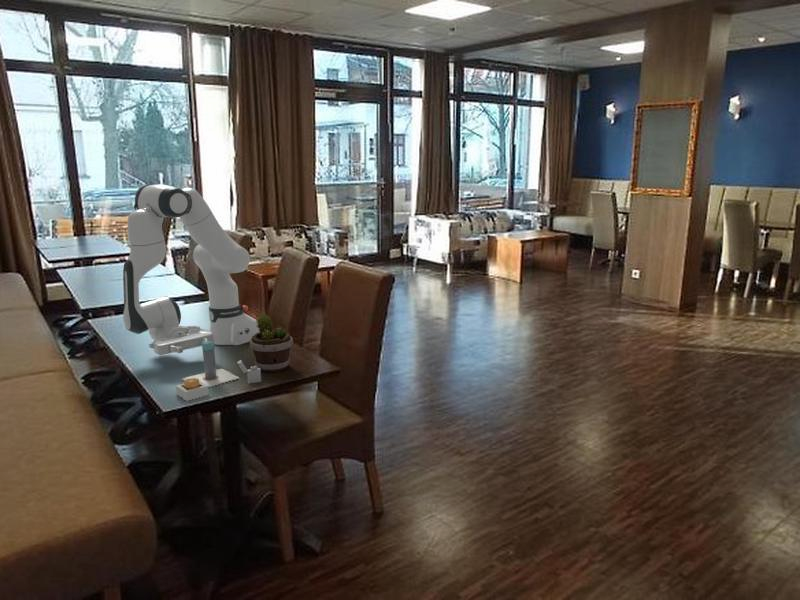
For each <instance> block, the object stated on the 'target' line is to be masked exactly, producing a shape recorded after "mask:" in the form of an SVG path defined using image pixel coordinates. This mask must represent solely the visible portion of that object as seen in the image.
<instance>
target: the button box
mask: <svg viewBox="0 0 800 600" xmlns="http://www.w3.org/2000/svg"><path fill="white" fill-rule="evenodd" d="M199 385H200V386H199V387H197V388H194V389H190V390H187V389H185V388H184V383H180V384H177V385H175V391H176V393H175V394H176V395H177V396H178V395H179V396H180V398H181V397H182V398H183V400H184V401H185V400H186V402H189V400H190V401H192V399H193V400H196V398H197V399H200V398H203V397H202V396H204V397H206V396H205V395H207V396H209V388H208V386H207V385H206V384H204V383H202V382H200V381H199ZM179 396H178V397H179ZM199 397H200V398H199ZM182 398H181V399H182Z"/></svg>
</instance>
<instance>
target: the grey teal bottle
mask: <svg viewBox="0 0 800 600" xmlns="http://www.w3.org/2000/svg"><path fill="white" fill-rule="evenodd" d="M215 348H216V347H215V344H214V342H213V341H206V342H203V343H202V346H201V349H202V357H203V369H204V372H203V373H205V379H206V380H212V379H215V378H216V370H217V364H216V353H215V352H216V350H215Z"/></svg>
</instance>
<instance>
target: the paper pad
mask: <svg viewBox="0 0 800 600" xmlns="http://www.w3.org/2000/svg"><path fill="white" fill-rule="evenodd" d="M190 378H197V379H199V381H200V382H202V383H204V384H206V385H207V386H208V387H210V388H212V386H213V387H216V386H215V385H217V386H219V385H218V384H220V385H222V384H221V383H224V384H226V383H225V382H228V383H230V382H229V381H231V382H233V381H232V380H235V381H237V380H236V379H238V380H240V377H239V376H237V375H235V374H233V373H232V372H230V371H228V370H226V369H223V368H222V367H221V368H218V369H217V368H216V378H215V379H212V380H206V379H205V372H201V373H197V374H195V375H190V376H186V377H182V379H181V380H182V381H183V380H184V381H185V380H186V379H190ZM184 381H183V382H184Z"/></svg>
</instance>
